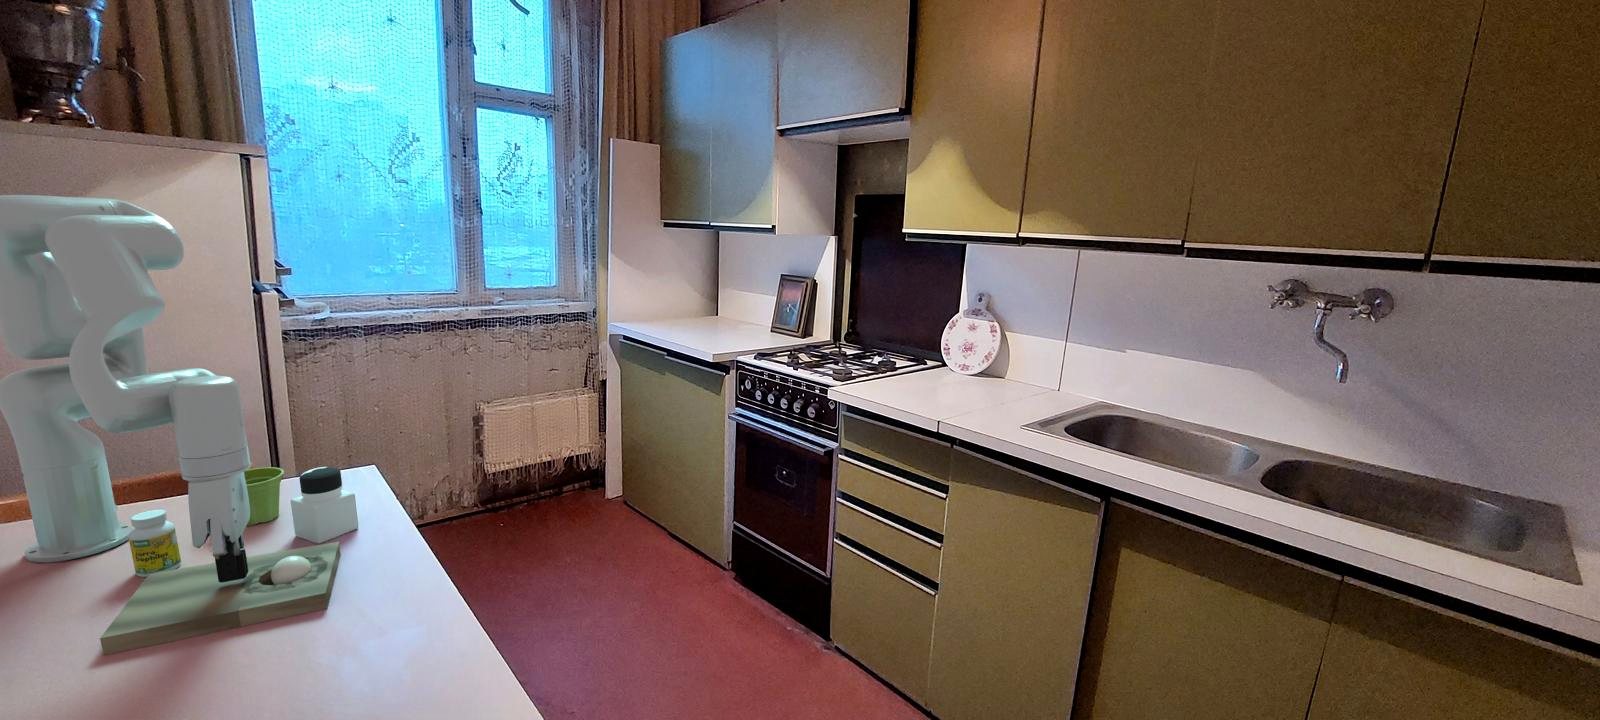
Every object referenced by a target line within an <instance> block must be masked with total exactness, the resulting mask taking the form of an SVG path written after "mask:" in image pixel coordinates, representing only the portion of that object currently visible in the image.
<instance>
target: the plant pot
mask: <svg viewBox="0 0 1600 720" xmlns="http://www.w3.org/2000/svg"><path fill="white" fill-rule="evenodd" d="M244 474H245V475H244V476H245V480H246V485H247V491H248V497H249V504H250V519H249V521H248V523H247V525H246V526H254V525H257V524H258V523H268V522H270V521H271V522H272V520H275V519H276V518H277V517H278V516H279V515H280V495H281V494H280V493H281V492H280V491H281V490H280V489H281V482H282V478H283V477H282V476H283V475H284V474H285V471H284V469H283V468H280V467H273V466H272V467H271V466H269V467H256V468H251V469H250V468H249V469H248V470H246V471H244Z"/></svg>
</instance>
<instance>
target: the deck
mask: <svg viewBox="0 0 1600 720" xmlns="http://www.w3.org/2000/svg"><path fill="white" fill-rule="evenodd" d="M341 555H342V554H341V546H340V541H334V542H329V543H323V544H322V543H321V544H317V545H311V546H305V547H304V546H303V547H299V548H298V547H297V548H294V549H293V548H292V549H288V550H287V549H286V550H281V551H276V552H275V551H274V552H269V553H264V554H259V555H258V554H257V555H251V556H246V557H247V564H248V571H249V572H248V574H247V576H246V577H245V578H244V579H239V580H233V581H228V582H222V583H221V582H219V581H218V575H217V569H216V563H215V562H212V563H205V564H201V565H199V564H198V565H194V566H189V567H182V568H176V569H175V570H170V571H164V572H158V573H152V574H149V575H148V576H147V577H145V579H144V580H143V581H142V583H141V584H140V586H139V587H138V588H137V589H136V591H135V592H134V593H133V594H132V596H131V597H130V598H129V600H128V601H127V603H125V605H124V606H123V607H122V609H121V610H120V612H119V613H118V614H117V616H116V617H115V618H114V619H113V621H112V622H111V623H110V624H109V626H108V627H107V628H106V630H105V631H104V633H102V635H101V636H100V638H99V639H100V641H99V642H100V644H101V650H102V656H108V655H112V654H117V653H121V652H126V651H130V650H135V649H140V648H145V647H149V646H155V645H159V644H163V643H164V644H165V643H169V642H173V641H178V640H183V639H189V638H192V637H193V638H194V637H197V636H202V635H206V634H207V635H208V634H212V633H216V632H217V633H218V632H222V631H227V630H231V629H236V628H240V627H241V628H242V627H245V626H250V625H254V624H258V623H264V622H269V621H273V620H279V619H284V618H286V617H287V618H288V617H293V616H296V615H302V614H306V613H307V614H308V613H311V612H316V611H320V610H321V611H322V610H326V609H328V608H329V603H330V601H331V596H332V593H333V587H334V584H335V579H336V576H337V571H338V569H339V563H340V559H341ZM289 556H301V557H304V558H305V559H307V560H308V561H309V562H310V564H311V568H312V570H311V572H310V573H308V574H307V575H305V576H304V577H303V578H300V579H297V580H295V581H292V582H290V583H285V584H280V585H275V584H274V583H273V582H272V579H271V572H272V569H273V568H274V566H275V565H276V564H277V563H278V562H279V561H280V560H282V559H284V558H286V557H289Z"/></svg>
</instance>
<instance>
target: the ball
mask: <svg viewBox="0 0 1600 720" xmlns="http://www.w3.org/2000/svg"><path fill="white" fill-rule="evenodd" d="M311 570H312V568H311V564H310V562H309V561H308V560H307V559H305V558H304V557H301V556H289V557H286V558H284V559H282V560H280V561H279V562H278V563H277V564H276V565H275V566H274V568H273V569H272V572H271V579H272V582H273V583H274V584H273V585H280V584H285V583H290V582H292V581H295V580H297V579H300V578H303V577H304V576H305V575H307V574H308V573H310V572H311Z"/></svg>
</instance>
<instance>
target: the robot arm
mask: <svg viewBox="0 0 1600 720" xmlns="http://www.w3.org/2000/svg"><path fill="white" fill-rule="evenodd" d="M184 249H185V248H184V243H183V240H182V238H181V236H180V235H179V233H178V232H177V230H176V229H175V228H174V226H172V224H170V223H169V222H168V221H167V220H166V219H164V218H163V217H161V216H159V215H158V214H155V213H154V212H151V211H149V210H146V209H144V208H142V207H140V206H137V205H135V204H132V203H130V202H127V201H125V200H121V199H115V198H105V197H104V198H103V197H102V198H101V197H99V198H98V197H78V196H75V197H73V196H60V195H59V196H58V195H56V196H55V195H35V194H30V195H29V194H4V195H2V194H1V195H0V334H1V337H2V340H3V343H4V346H5V348H6V350H7V352H9V354H11V355H12V356H13V357H16V358H18V359H22V360H31V361H40V360H41V361H43V360H52V359H53V360H54V359H61V358H69V359H68V362H65V363H63V362H62V363H56V364H55V363H54V364H48V365H41V366H34V367H28V368H24V369H21V370H17V371H14V372H11V373H9V374H7V375H6V376H4V377H3V378H1V379H0V411H1V413H2V415H3V418H4V419H5V421H6V423H7V426H8V427H9V431H10V433H11V434H12V438H13V441H14V444H15V445H14V446H15V448H16V453H17V456H18V460H19V465H20V468H21V473H22V478H23V482H24V487H25V491H26V496H27V500H28V504H29V505H28V506H29V509H30V513H31V520H32V523H33V528H34V531H35V537H36V542H33V543H32V544H31V545H29V546H28V547H27V548H26V549H25V551H24V554H25V555H24V556H25V559H26V560H27V561H30V562H34V563H55V562H57V563H58V562H64V561H70V560H76V559H79V558H84V557H87V556H88V557H89V556H92V555H96V554H99V553H101V552H104V551H108V550H110V549H113V548H116V547H117V546H119V545H122V544H123V543H125V542H126V541H129V538H128V535H129V533H130V531H131V530H133V529H134V528H133V526H132V525H130V524H127V523H120V522H119V520H118V519H119V518H118V515H117V511H118V509H119V507H118V505H117V504H116V503H115V498H114V492H113V489H112V483H111V478H110V472H109V467H108V462H107V455H106V450H105V447H104V443H103V441H102V439H101V438H100V437H99V436H98V435H97V434H96V433H94V432H92V431H91V430H89V429H86V428H85V427H83V426H82V425H80V423H78V421H80V420H82V419H88V418H92V420H93V421H94V422H95V424H96V425H97V426H99V427H100V428H101V429H103V430H105V431H107V432H109V433H113V434H128V433H133V432H138V431H139V432H140V431H143V430H147V429H154V428H158V427H162V426H163V427H164V426H167V425H171V424H172V425H173V426H172V427H173V431H174V438H175V443H176V450H177V455H178V461H179V463H178V464H179V466H180V467H179V469H180V475H181V478H182V480H185V481H188V485H187V487H188V492H187V493H188V495H187V496H188V510H189V511H188V513H189V521H190V531H191V540H192V546H193V547H194V548H195V549H201V548H202V547H204V545H205V543H206V542H207V540H208V539H210V543H211V552H212V554H211V555H212V556H213V558H214V563H216V569H217V575H218V581H219V582H221V583H222V582H228V581H233V580H239V579H244V578H245V577H246V576H247V574H248V572H249V571H248V564H247V557H248V556H247V552H246V549H245V539H244V538H245V537H244V531H245V529H246V527H247V526H248V525H247V523H248V521H249V519H250V504H249V497H248V491H247V485H246V480H245V476H244V475H245V474H244V471H246V470H249V469H250V468H251V467H252V466H251V458H250V452H249V445H248V439H247V431H246V425H245V419H244V417H245V416H244V411H243V410H244V409H243V403H242V398H241V396H242V395H241V390H240V386H239V383H238V382H237V380H235V378H233V377H230V376H224V375H217V374H215V373H214V372H212V371H209V370H207V369H204V368H201V367H200V368H197V367H194V368H192V367H191V368H183V369H176V370H171V371H170V370H169V371H164V372H156V373H149V369H148V368H149V367H148V358H147V349H146V339H145V331H144V326H146V325H148V324H150V323H152V322H153V321H155V320H156V319H157V318H159V317H160V316H161V315H162V314H163V312H164V311H165V309H166V304H165V300H164V298H163V296H162V294H160V292H159V290H158V288H157V286H156V285H155V283H154V280H153V279H152V277H151V276H150V274H149V272H148V271H166V270H167V271H168V270H172V269H176V268H177V267H178V266H180V264H181V263H182V261H183V259H184V255H185V250H184Z"/></svg>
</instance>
